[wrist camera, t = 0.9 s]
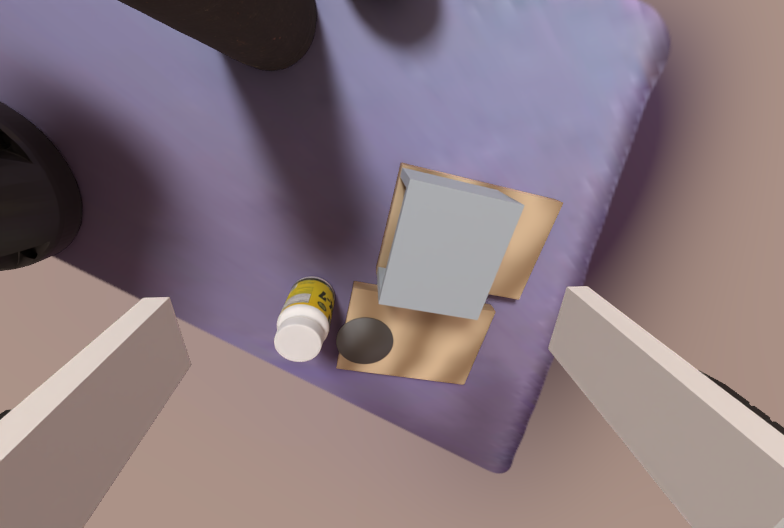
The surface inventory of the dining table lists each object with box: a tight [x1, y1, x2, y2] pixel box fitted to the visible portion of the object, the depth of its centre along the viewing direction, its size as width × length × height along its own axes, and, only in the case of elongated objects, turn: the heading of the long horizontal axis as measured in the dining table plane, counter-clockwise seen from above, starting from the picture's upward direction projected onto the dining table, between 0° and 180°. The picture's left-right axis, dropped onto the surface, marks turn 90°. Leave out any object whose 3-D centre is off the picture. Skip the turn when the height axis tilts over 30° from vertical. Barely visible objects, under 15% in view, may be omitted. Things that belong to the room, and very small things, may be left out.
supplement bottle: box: [274, 276, 335, 362], centre depth 30 cm, size 5×5×8 cm
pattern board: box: [376, 163, 563, 300], centre depth 30 cm, size 16×11×4 cm
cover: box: [377, 167, 525, 320], centre depth 28 cm, size 9×11×6 cm
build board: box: [336, 281, 495, 385], centre depth 36 cm, size 17×11×2 cm, turn 77°
